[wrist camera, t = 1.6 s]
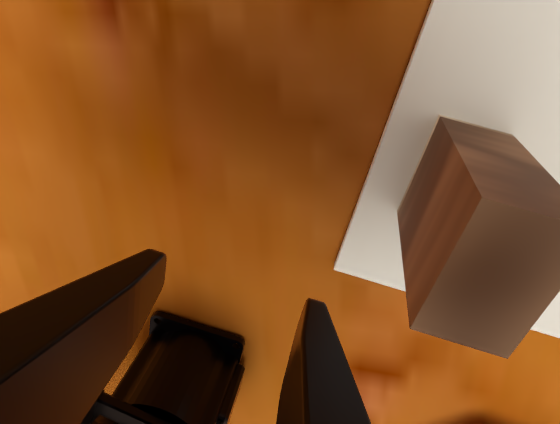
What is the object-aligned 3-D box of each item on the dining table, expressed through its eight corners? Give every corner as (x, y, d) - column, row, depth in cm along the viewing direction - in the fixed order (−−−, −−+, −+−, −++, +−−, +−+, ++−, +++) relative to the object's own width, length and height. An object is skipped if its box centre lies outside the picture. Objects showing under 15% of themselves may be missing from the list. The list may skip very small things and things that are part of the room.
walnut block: (396, 211, 20) (409, 328, 13) (439, 114, 18) (482, 197, 11) (460, 230, 20) (507, 358, 13) (513, 134, 17) (604, 232, 11)
